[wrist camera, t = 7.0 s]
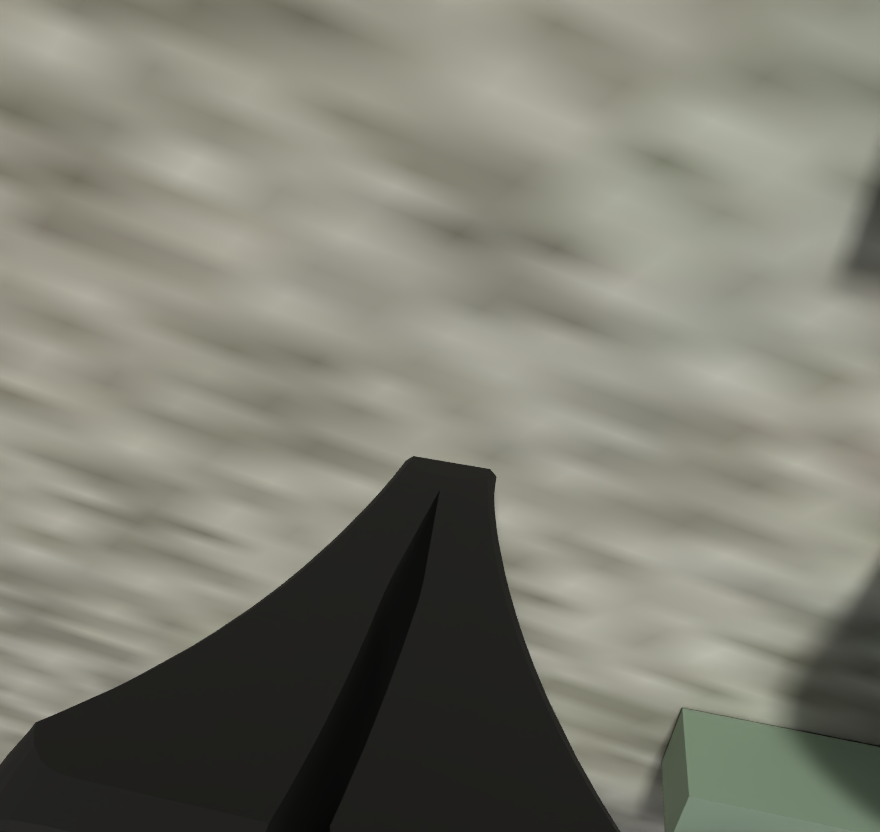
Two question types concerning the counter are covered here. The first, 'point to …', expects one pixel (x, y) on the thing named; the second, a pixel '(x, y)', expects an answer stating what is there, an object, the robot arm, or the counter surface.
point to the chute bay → (766, 779)
